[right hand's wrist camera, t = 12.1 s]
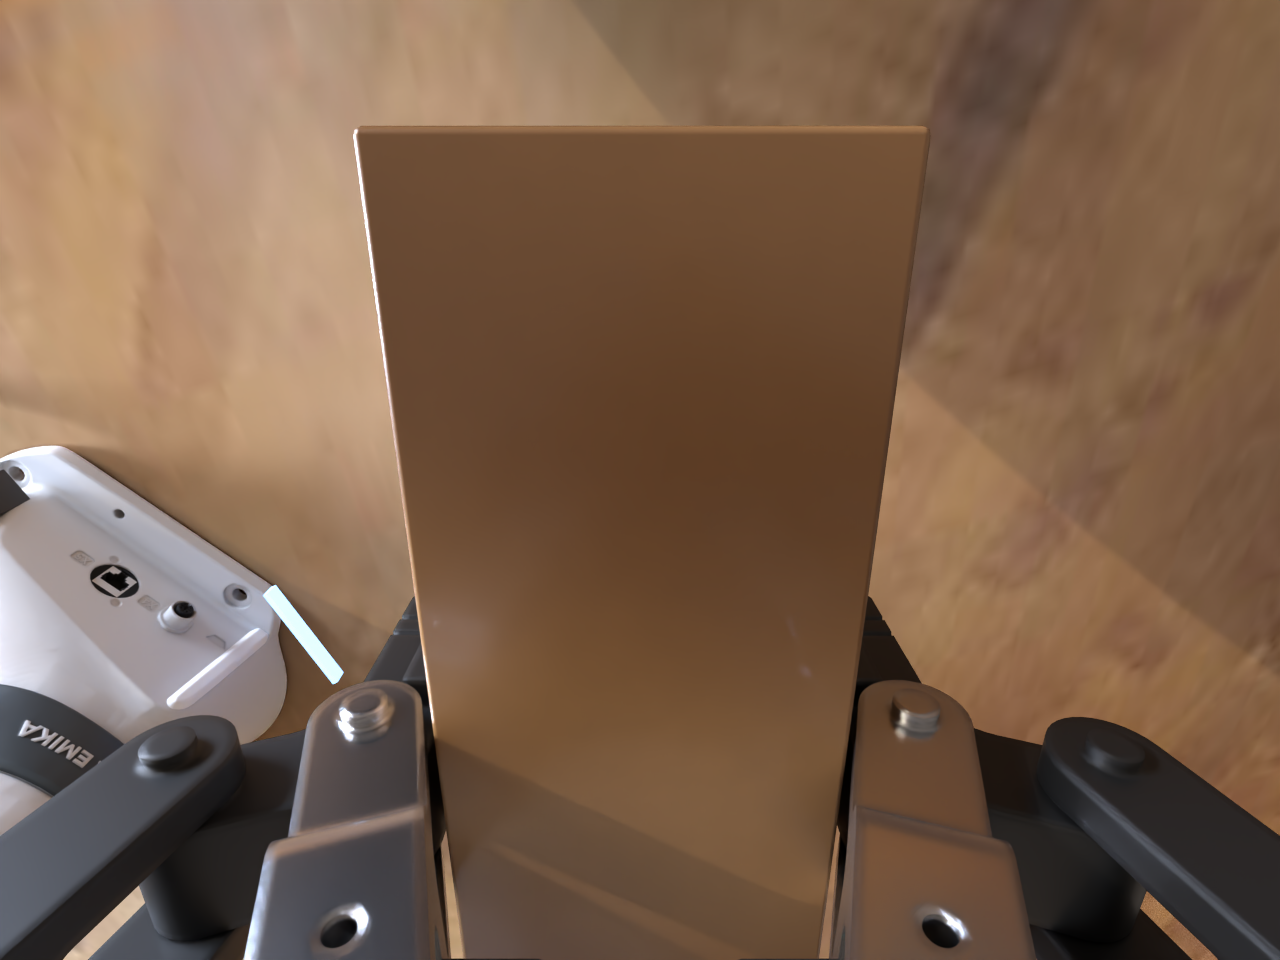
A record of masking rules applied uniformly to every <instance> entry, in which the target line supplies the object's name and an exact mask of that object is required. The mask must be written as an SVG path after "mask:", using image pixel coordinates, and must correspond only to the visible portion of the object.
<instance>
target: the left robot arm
mask: <svg viewBox="0 0 1280 960" xmlns="http://www.w3.org/2000/svg"><path fill="white" fill-rule="evenodd" d="M19 468H20V469H22V471H23V472H24V474H25V475H24V474H23V473H22V472H21V471H20V469H19ZM239 589H242V590H243V591H245V592H246V594H247V595H244V594H242V593H241V592H240V591H239ZM281 619H282V620H283V621H284V623H285V624H286V625H287V627H288V628H289V629H290V630H291V632H292V633H293V634H294V635H295V637H296V638H297V639H298V640H299V642H300V643H301V644H302V646H303V647H304V648H305V649H306V651H307V652H308V653H309V654H310V656H311V657H312V658H313V659H314V661H315V662H316V663H317V665H318V666H319V667H320V668H321V670H322V671H323V672H324V673H325V675H326V676H327V677H328V678H329V680H330V681H331V682H332V684H334V683H337V682H338V680H339V679H340V677H341V676H342V674H343V671H342V670H341V668H340V667H339V666H338V665H337V663H336V662H335V661H334V659H333V658H332V657H331V656H330V654H329V653H328V652H327V650H326V649H325V648H324V647H323V645H322V644H321V643H320V641H319V640H318V639H317V638H316V636H315V635H314V634H313V632H312V631H311V630H310V629H309V627H308V626H307V625H306V623H305V622H304V621H303V620H302V618H301V617H300V616H299V614H298V613H297V612H296V611H295V609H294V608H293V607H292V605H291V604H290V603H289V602H288V600H287V599H286V598H285V596H284V595H283V594H282V593H281V591H280V590H279V589H278V587H277V586H276V585H275V586H272V585H270V584H269V583H268V582H266V581H265V580H263V579H262V578H260V577H259V576H257V575H256V574H254V573H253V572H251V571H250V570H248V569H247V568H245V567H244V566H242V565H241V564H239V563H238V562H236V561H235V560H233V559H232V558H230V557H229V556H228V555H226V554H225V553H223V552H222V551H220V550H219V549H217V548H216V547H214V546H213V545H211V544H210V543H208V542H207V541H205V540H204V539H202V538H201V537H199V536H198V535H196V534H195V533H193V532H192V531H190V530H189V529H188V528H186V527H185V526H183V525H182V524H180V523H179V522H177V521H176V520H174V519H173V518H171V517H170V516H168V515H167V514H165V513H164V512H162V511H161V510H159V509H158V508H156V507H155V506H153V505H152V504H150V503H149V502H148V501H146V500H145V499H143V498H142V497H140V496H139V495H137V494H136V493H134V492H133V491H131V490H130V489H128V488H127V487H125V486H124V485H122V484H121V483H119V482H118V481H116V480H115V479H113V478H112V477H110V476H109V475H108V474H106V473H105V472H103V471H102V470H100V469H99V468H97V467H96V466H94V465H93V464H91V463H90V462H88V461H87V460H85V459H84V458H82V457H81V456H79V455H78V454H76V453H74V452H73V451H71V450H69V449H67V448H65V447H62V446H42V447H34V448H29V449H25V450H21V451H18V452H15V453H12V454H10V455H7V456H5V457H3V458H1V459H0V836H1V835H2V834H4V833H5V832H6V831H8V830H9V829H10V828H12V827H13V826H14V825H16V824H17V823H18V822H20V821H21V820H23V819H24V818H25V817H27V816H28V815H29V814H31V813H32V812H33V811H35V810H36V809H37V808H39V807H40V806H41V805H43V804H44V803H46V802H47V801H48V800H50V799H51V798H52V797H54V796H55V795H56V794H58V793H59V792H60V791H62V790H63V789H65V788H66V787H67V786H69V785H70V784H71V783H73V782H74V781H75V780H77V779H78V778H79V777H81V776H82V775H83V774H85V773H86V772H88V771H89V770H90V769H92V768H93V767H94V766H96V765H97V764H98V763H100V762H101V761H102V760H104V759H105V758H106V757H108V756H109V755H111V754H112V753H113V752H115V751H116V750H117V749H119V748H120V747H121V746H123V745H124V744H125V743H127V742H128V741H130V740H131V739H133V738H134V737H136V736H138V735H139V734H141V733H143V732H145V731H147V730H149V729H151V728H153V727H155V726H158V725H160V724H163V723H166V722H169V721H172V720H176V719H179V718H184V717H189V716H197V715H212V716H219V717H222V718H225V719H227V720H228V721H230V722H231V723H232V724H233V725H234V726H235V728H236V731H237V734H238V738H239V742H240V745H242V744H246V743H251V742H252V741H254V740H255V739H257V738H258V737H259V736H261V735H262V734H263V733H264V732H265V731H267V730H268V728H269V727H270V726H271V725H272V724H273V723H274V721H275V720H276V718H277V717H278V715H279V713H280V711H281V709H282V706H283V704H284V700H285V696H286V690H287V674H286V667H285V662H284V659H283V655H282V651H281V648H280V644H279V637H278V633H279V629H280V624H281Z"/></svg>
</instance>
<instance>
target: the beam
mask: <svg viewBox="0 0 1280 960" xmlns="http://www.w3.org/2000/svg"><path fill="white" fill-rule="evenodd" d="M353 137H354V144H355V152H356V159H357V167H358V174H359V182H360V189H361V197H362V204H363V212H364V219H365V226H366V234H367V241H368V249H369V256H370V264H371V271H372V279H373V286H374V294H375V301H376V308H377V316H378V323H379V331H380V338H381V346H382V353H383V361H384V368H385V376H386V383H387V391H388V398H389V405H390V413H391V420H392V428H393V435H394V443H395V450H396V458H397V465H398V473H399V480H400V488H401V495H402V502H403V510H404V517H405V525H406V532H407V540H408V547H409V555H410V562H411V570H412V577H413V585H414V592H415V599H416V607H417V614H418V622H419V629H420V637H421V644H422V652H423V659H424V667H425V674H426V682H427V689H428V696H429V704H430V711H431V719H432V726H433V734H434V741H435V749H436V756H437V764H438V771H439V779H440V786H441V793H442V801H443V808H444V816H445V823H446V831H447V838H448V846H449V853H450V861H451V868H452V876H453V883H454V890H455V898H456V905H457V913H458V920H459V928H460V935H461V943H462V950H463V958H464V959H541V960H739V959H819V952H820V945H821V938H822V930H823V923H824V916H825V908H826V901H827V894H828V886H829V879H830V872H831V864H832V857H833V850H834V842H835V835H836V828H837V820H838V813H839V806H840V798H841V791H842V783H843V776H844V769H845V761H846V754H847V747H848V739H849V732H850V725H851V717H852V710H853V703H854V695H855V688H856V681H857V673H858V666H859V659H860V651H861V644H862V636H863V629H864V622H865V614H866V607H867V600H868V592H869V585H870V578H871V570H872V563H873V556H874V548H875V541H876V534H877V526H878V519H879V512H880V504H881V497H882V490H883V482H884V475H885V467H886V460H887V453H888V445H889V438H890V431H891V423H892V416H893V409H894V401H895V394H896V387H897V379H898V372H899V365H900V357H901V350H902V343H903V335H904V328H905V321H906V313H907V306H908V298H909V291H910V284H911V276H912V269H913V262H914V254H915V247H916V240H917V232H918V225H919V218H920V210H921V203H922V196H923V188H924V181H925V174H926V166H927V159H928V152H929V144H930V137H931V135H930V130H929V129H928V128H926V127H924V126H360V127H358V128H356V129H355V130H354V136H353Z"/></svg>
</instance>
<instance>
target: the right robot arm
mask: <svg viewBox="0 0 1280 960" xmlns="http://www.w3.org/2000/svg"><path fill="white" fill-rule="evenodd" d="M837 826H838V829H839V832H840V837H839V844H838V851H837V858H836V872H835V885H834V899H833V912H832V926H831V939H830V953H829V959H739V960H1036V958H1037V960H1192V959H1191V958H1190V957H1189V956H1188V955H1187V954H1186V953H1185V952H1184V951H1183V950H1182V949H1181V948H1180V947H1179V946H1178V945H1177V944H1176V943H1175V942H1174V941H1173V940H1172V939H1171V938H1170V937H1169V936H1168V935H1167V934H1166V933H1164V932H1163V931H1162V930H1161V929H1160V928H1159V927H1158V926H1157V925H1156V924H1155V923H1154V922H1153V921H1152V920H1151V919H1150V918H1149V917H1148V916H1147V915H1146V914H1145V913H1144V912H1143V911H1142V910H1141V909H1140V907H1141V904H1142V902H1143V899H1144V896H1145V894H1146V891H1148V892H1149V893H1150V894H1151V895H1152V896H1153V897H1154V898H1155V899H1156V900H1157V901H1158V902H1159V903H1160V904H1161V905H1162V906H1164V907H1165V908H1166V909H1167V910H1168V911H1169V912H1170V913H1171V914H1172V915H1173V916H1174V917H1175V918H1176V919H1177V920H1178V921H1179V922H1180V923H1181V924H1182V925H1183V926H1185V927H1186V928H1187V929H1188V930H1189V931H1190V932H1191V933H1192V934H1193V935H1194V936H1195V937H1196V938H1197V939H1198V940H1199V941H1200V942H1201V943H1202V944H1203V945H1204V946H1206V947H1207V948H1208V949H1209V950H1210V951H1211V952H1212V953H1213V954H1214V955H1215V956H1216V958H1217V959H1218V960H1280V836H1279V835H1278V834H1276V833H1275V832H1274V831H1272V830H1271V829H1270V828H1268V827H1267V826H1266V825H1264V824H1263V823H1262V822H1260V821H1259V820H1257V819H1256V818H1255V817H1253V816H1252V815H1251V814H1249V813H1248V812H1247V811H1245V810H1244V809H1243V808H1241V807H1240V806H1239V805H1237V804H1236V803H1234V802H1233V801H1232V800H1230V799H1229V798H1228V797H1226V796H1225V795H1224V794H1222V793H1221V792H1220V791H1218V790H1217V789H1216V788H1214V787H1213V786H1211V785H1210V784H1209V783H1207V782H1206V781H1205V780H1203V779H1202V778H1201V777H1199V776H1198V775H1197V774H1195V773H1194V772H1193V771H1191V770H1190V769H1188V768H1187V767H1186V766H1184V765H1183V764H1182V763H1180V762H1179V761H1178V760H1176V759H1175V758H1174V757H1172V756H1171V755H1169V754H1168V753H1167V752H1165V751H1164V750H1163V749H1161V748H1160V747H1159V746H1157V745H1156V744H1154V743H1153V742H1151V741H1150V740H1148V739H1147V738H1145V737H1143V736H1141V735H1140V734H1138V733H1136V732H1134V731H1132V730H1129V729H1127V728H1125V727H1122V726H1119V725H1117V724H1114V723H1111V722H1107V721H1104V720H1099V719H1094V718H1086V717H1070V718H1064V719H1061V720H1058V721H1056V722H1054V723H1052V724H1051V725H1050V726H1049V727H1048V729H1047V731H1046V734H1045V738H1044V742H1043V745H1039V744H1034V743H1030V742H1025V741H1021V740H1016V739H1011V738H1007V737H1002V736H998V735H994V734H990V733H986V732H983V731H981V730H978V729H975V728H974V727H973V723H972V720H971V718H970V716H969V714H968V713H967V711H966V710H965V709H964V708H963V707H962V706H961V705H960V704H959V703H958V702H957V701H956V700H954V699H953V698H951V697H950V696H949V695H947V694H945V693H943V692H942V691H940V690H937V689H935V688H933V687H930V686H927V685H924V684H922V683H921V681H920V680H919V678H918V676H917V675H916V673H915V671H914V669H913V668H912V666H911V664H910V663H909V661H908V659H907V658H906V656H905V654H904V653H903V651H902V649H901V648H900V646H899V644H898V642H897V641H896V639H895V637H894V636H891V631H890V629H889V627H888V626H887V624H886V622H885V620H882V615H881V614H880V612H879V610H878V609H877V607H876V605H875V604H874V602H873V600H872V599H871V598H870V597H869V596H868V600H867V607H866V614H865V622H864V629H863V636H862V644H861V651H860V659H859V666H858V673H857V681H856V688H855V695H854V703H853V710H852V717H851V725H850V732H849V739H848V747H847V754H846V761H845V769H844V776H843V783H842V791H841V798H840V806H839V813H838V820H837ZM445 831H446V823H445V816H444V808H443V801H442V793H441V786H440V779H439V771H438V764H437V756H436V749H435V741H434V734H433V726H432V719H431V711H430V704H429V696H428V689H427V682H426V674H425V667H424V659H423V652H422V644H421V637H420V629H419V622H418V614H417V607H416V599H415V596H414V597H413V598H412V600H411V602H410V603H409V605H408V607H407V608H406V610H405V612H404V614H403V615H402V620H399V622H398V624H397V626H396V627H395V629H394V631H393V635H391V636H390V638H389V639H388V641H387V643H386V644H385V646H384V648H383V650H382V651H381V653H380V655H379V656H378V658H377V660H376V662H375V663H374V665H373V667H372V668H371V670H370V672H369V674H368V675H367V677H366V679H365V680H364V682H363V683H359V684H356V685H353V686H350V687H347V688H345V689H343V690H340V691H339V692H337V693H335V694H333V695H331V696H330V697H329V698H327V699H326V700H324V701H323V702H322V703H321V704H320V705H319V706H318V707H317V708H316V709H315V710H314V712H313V713H312V714H311V716H310V718H309V720H308V724H307V728H306V729H305V730H302V731H299V732H295V733H291V734H287V735H283V736H278V737H273V738H269V739H264V740H260V741H255V742H251V743H246V744H242V745H240V742H239V738H238V734H237V731H236V728H235V726H234V725H233V724H232V723H231V722H230V721H228V720H227V719H225V718H222V717H219V716H212V715H197V716H189V717H184V718H179V719H176V720H172V721H169V722H166V723H163V724H160V725H158V726H155V727H153V728H151V729H149V730H147V731H145V732H143V733H141V734H139V735H138V736H136V737H134V738H133V739H131V740H130V741H128V742H127V743H125V744H124V745H123V746H121V747H120V748H119V749H117V750H116V751H115V752H113V753H112V754H111V755H109V756H108V757H106V758H105V759H104V760H102V761H101V762H100V763H98V764H97V765H96V766H94V767H93V768H92V769H90V770H89V771H88V772H86V773H85V774H83V775H82V776H81V777H79V778H78V779H77V780H75V781H74V782H73V783H71V784H70V785H69V786H67V787H66V788H65V789H63V790H62V791H60V792H59V793H58V794H56V795H55V796H54V797H52V798H51V799H50V800H48V801H47V802H46V803H44V804H43V805H41V806H40V807H39V808H37V809H36V810H35V811H33V812H32V813H31V814H29V815H28V816H27V817H25V818H24V819H23V820H21V821H20V822H18V823H17V824H16V825H14V826H13V827H12V828H10V829H9V830H8V831H6V832H5V833H4V834H2V835H1V836H0V960H63V959H64V957H65V956H66V955H67V954H68V953H69V952H70V951H71V950H72V949H73V948H74V946H76V945H77V944H78V943H79V942H80V941H81V940H82V939H83V938H84V937H85V936H86V935H87V934H88V933H89V932H90V931H91V930H92V929H93V928H94V927H95V926H97V925H98V924H99V923H100V922H101V921H102V920H103V919H104V918H105V917H106V916H107V915H108V914H109V913H110V912H111V911H112V910H113V909H114V908H115V907H116V906H118V905H119V904H120V903H121V902H122V901H123V900H124V899H125V898H126V897H127V896H128V895H129V894H130V893H131V892H132V891H133V890H134V889H135V888H136V887H137V886H139V887H140V890H141V892H142V895H143V898H144V901H145V904H144V905H143V906H142V907H141V908H140V909H139V910H138V911H137V912H136V913H135V914H134V915H133V916H132V917H131V918H130V919H129V920H128V921H127V922H126V923H125V924H124V925H123V926H122V927H121V928H120V929H119V930H118V931H117V932H116V933H115V934H113V935H112V936H111V937H110V938H109V939H108V940H107V941H106V942H105V943H104V944H103V945H102V946H101V947H100V948H99V949H98V950H97V951H96V952H95V953H94V954H93V955H92V956H91V957H90V958H89V959H88V960H243V958H244V960H541V959H451V952H450V938H449V925H448V911H447V898H446V884H445V871H444V858H443V850H442V840H443V837H444V834H445Z"/></svg>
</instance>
